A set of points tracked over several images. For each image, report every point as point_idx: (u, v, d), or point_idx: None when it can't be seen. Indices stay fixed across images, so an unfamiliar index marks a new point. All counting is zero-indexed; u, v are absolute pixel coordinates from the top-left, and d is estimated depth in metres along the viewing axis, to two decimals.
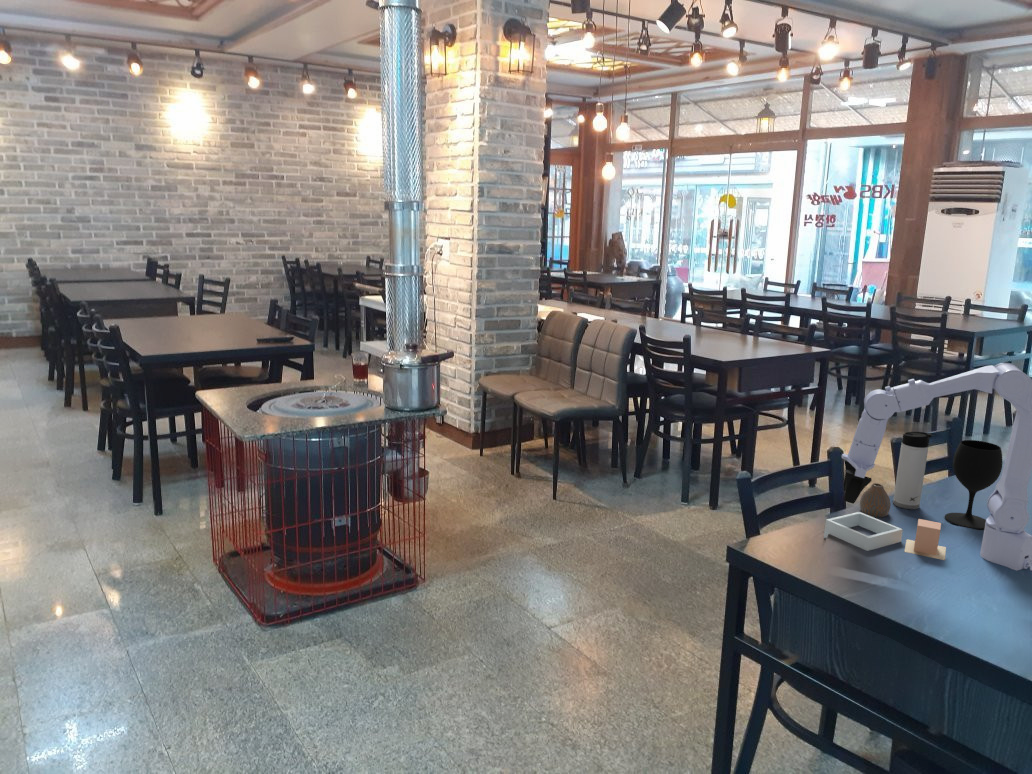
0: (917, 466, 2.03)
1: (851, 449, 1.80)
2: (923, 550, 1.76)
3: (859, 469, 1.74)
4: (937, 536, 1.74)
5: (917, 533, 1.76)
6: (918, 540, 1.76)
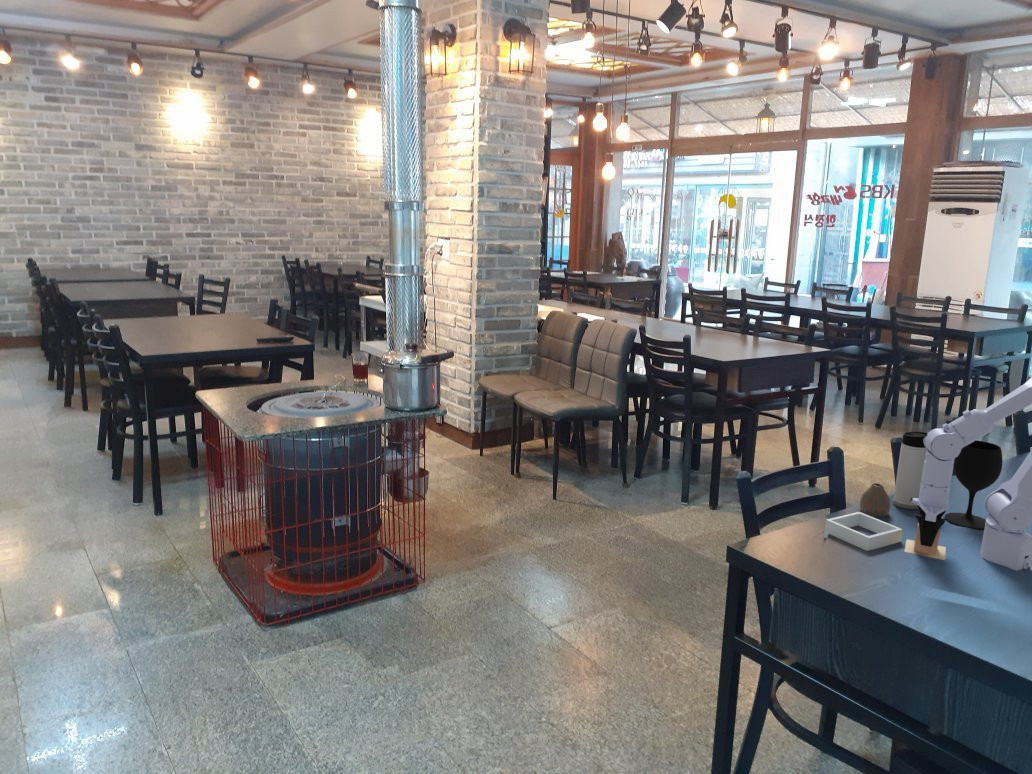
0: (917, 466, 2.03)
1: (920, 492, 1.75)
2: (923, 550, 1.76)
3: (928, 513, 1.69)
4: (937, 536, 1.74)
5: (917, 533, 1.76)
6: (918, 540, 1.76)
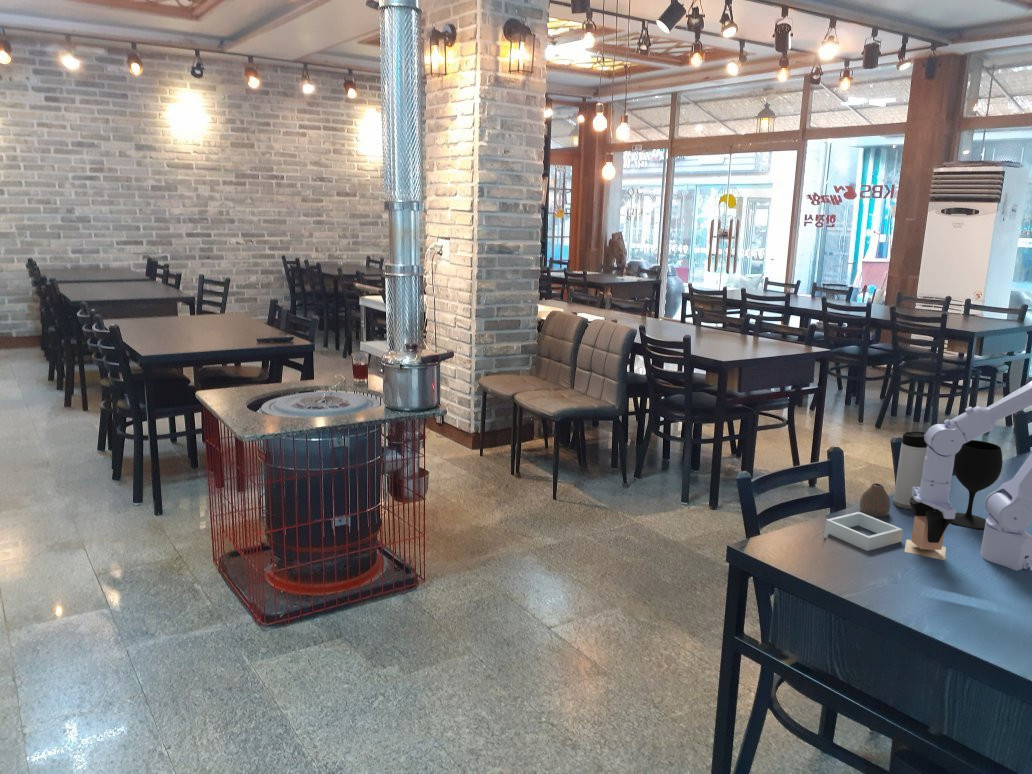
0: (917, 466, 2.03)
1: (925, 490, 1.73)
2: (930, 547, 1.75)
3: (949, 511, 1.68)
4: None
5: (925, 531, 1.74)
6: (925, 538, 1.75)
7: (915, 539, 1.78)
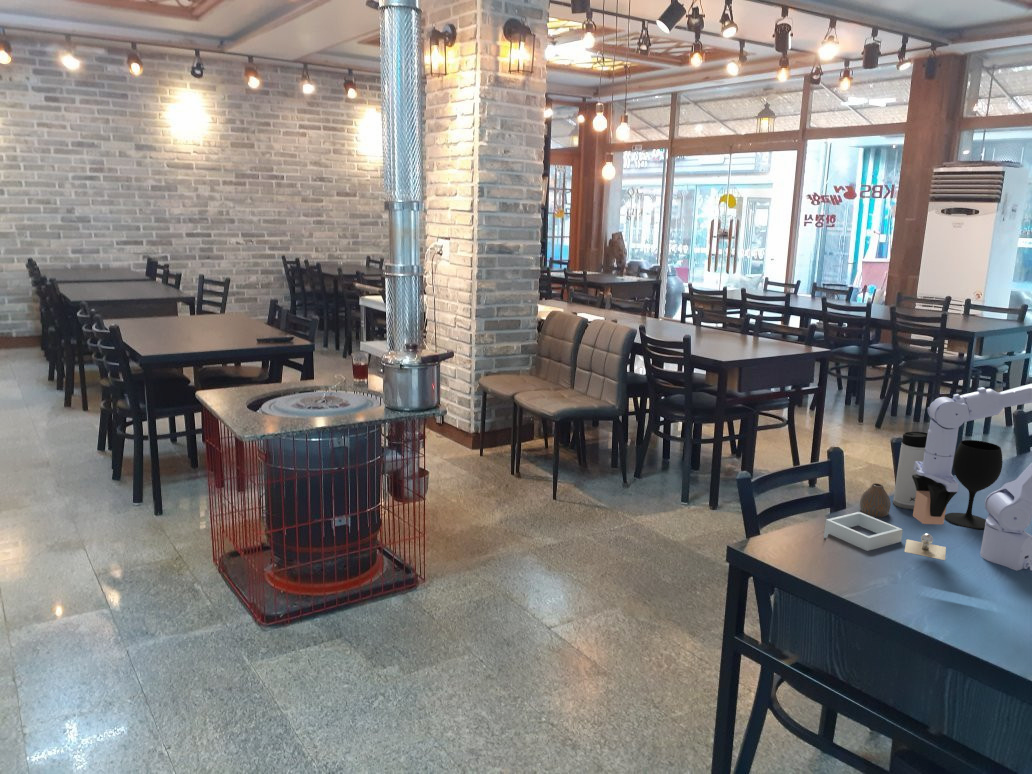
0: None
1: (928, 464, 1.72)
2: (932, 521, 1.74)
3: (952, 484, 1.67)
4: None
5: (927, 506, 1.73)
6: (927, 512, 1.73)
7: (917, 514, 1.76)
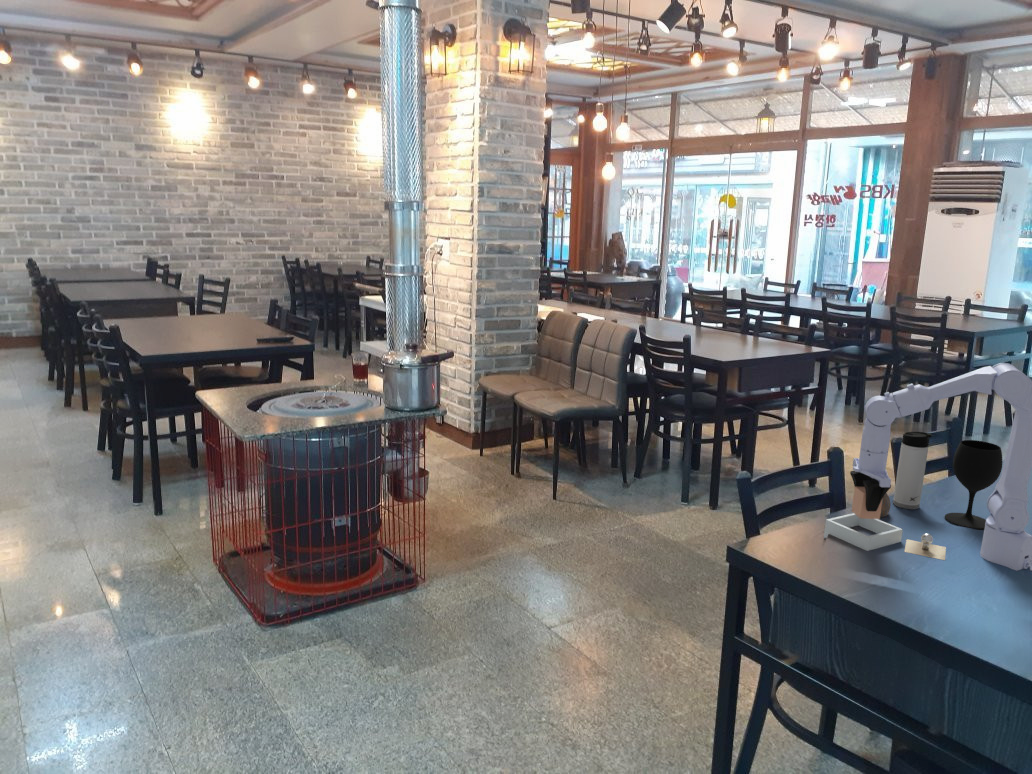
0: (917, 466, 2.03)
1: (863, 460, 1.78)
2: (868, 516, 1.80)
3: (884, 480, 1.73)
4: None
5: (863, 501, 1.79)
6: (864, 507, 1.80)
7: (855, 509, 1.83)
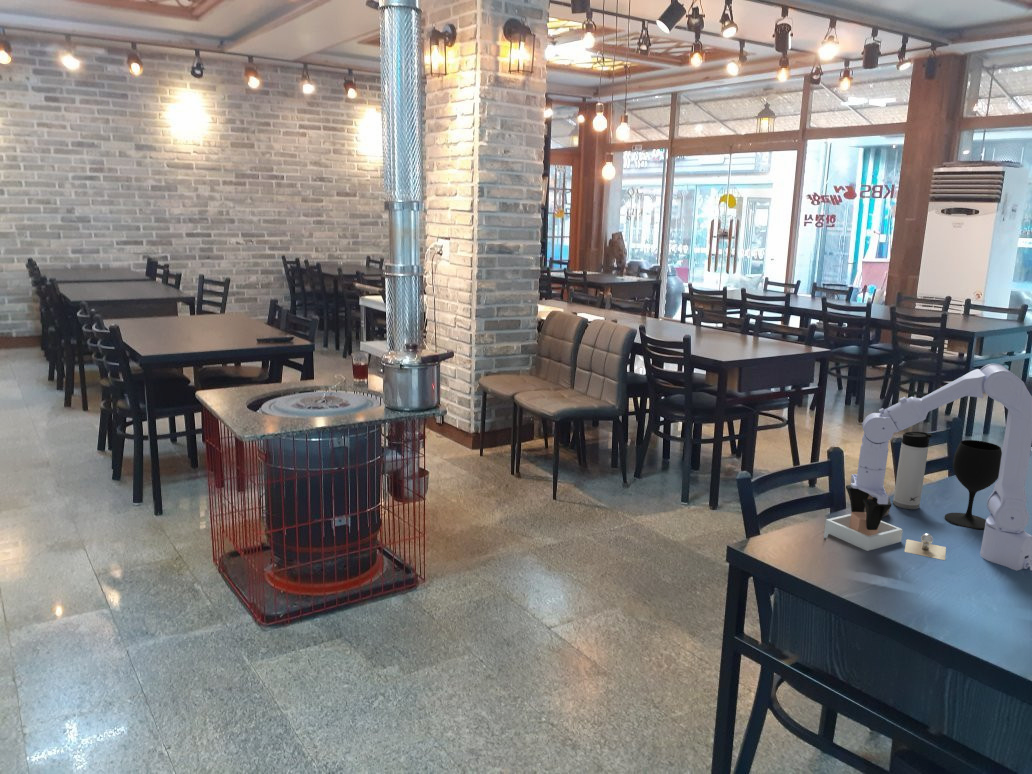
0: (917, 466, 2.03)
1: (861, 477, 1.79)
2: None
3: (882, 497, 1.74)
4: None
5: (859, 527, 1.81)
6: None
7: None
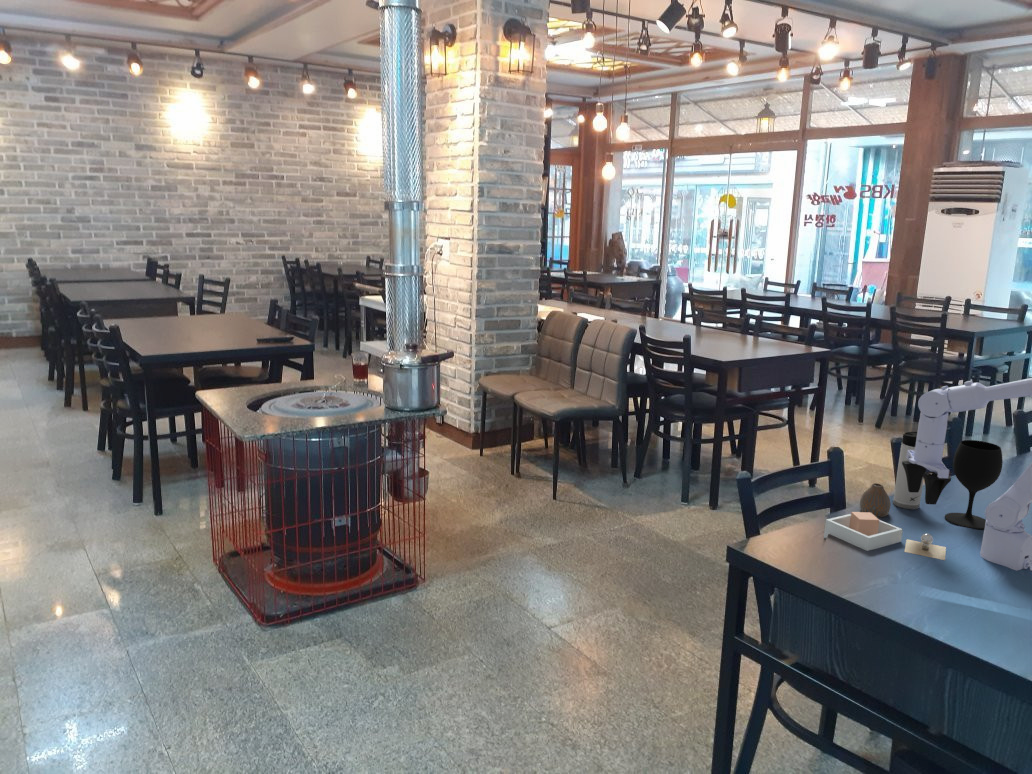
0: None
1: (919, 452, 1.81)
2: None
3: (942, 471, 1.75)
4: (876, 526, 1.81)
5: (859, 527, 1.81)
6: None
7: None
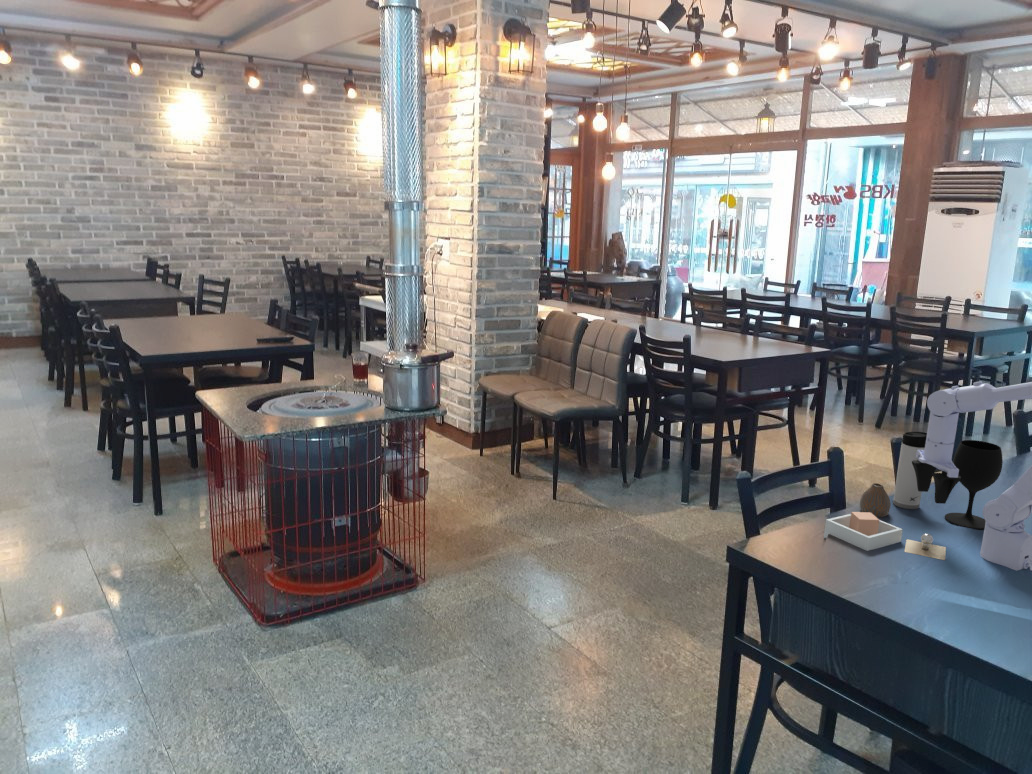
0: None
1: (929, 451, 1.81)
2: None
3: (952, 470, 1.76)
4: (876, 526, 1.81)
5: (859, 527, 1.81)
6: None
7: None
